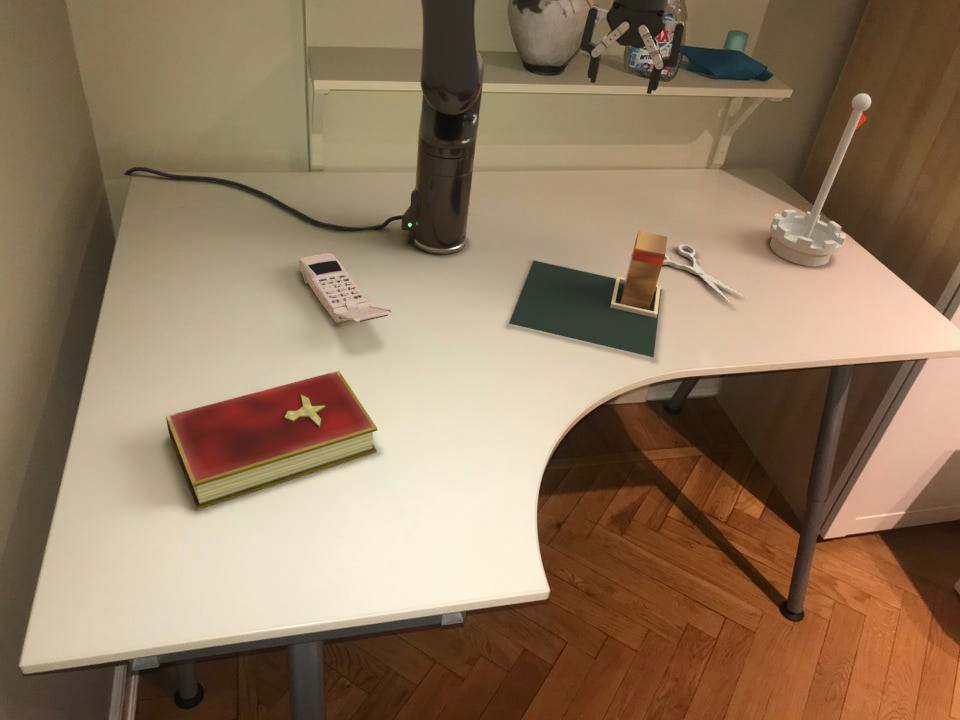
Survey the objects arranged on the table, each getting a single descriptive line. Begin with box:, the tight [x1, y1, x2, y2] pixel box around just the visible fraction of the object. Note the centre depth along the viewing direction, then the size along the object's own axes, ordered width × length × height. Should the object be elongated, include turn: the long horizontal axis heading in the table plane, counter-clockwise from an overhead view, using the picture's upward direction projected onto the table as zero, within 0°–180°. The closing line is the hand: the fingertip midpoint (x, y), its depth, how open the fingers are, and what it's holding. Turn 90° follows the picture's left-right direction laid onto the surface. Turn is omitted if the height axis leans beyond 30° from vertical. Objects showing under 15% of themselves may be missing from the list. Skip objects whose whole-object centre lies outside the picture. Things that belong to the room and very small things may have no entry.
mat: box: [508, 260, 662, 358], centre depth 121 cm, size 22×20×1 cm
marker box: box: [620, 230, 668, 310], centre depth 121 cm, size 5×6×10 cm
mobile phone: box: [298, 252, 393, 324], centre depth 113 cm, size 6×6×25 cm
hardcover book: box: [165, 370, 378, 511], centre depth 89 cm, size 12×21×4 cm, turn 121°
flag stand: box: [769, 92, 872, 267], centre depth 136 cm, size 13×13×30 cm
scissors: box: [662, 243, 748, 305], centre depth 133 cm, size 11×1×20 cm
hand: (621, 87), depth 115 cm, fingers open, 8 cm apart
